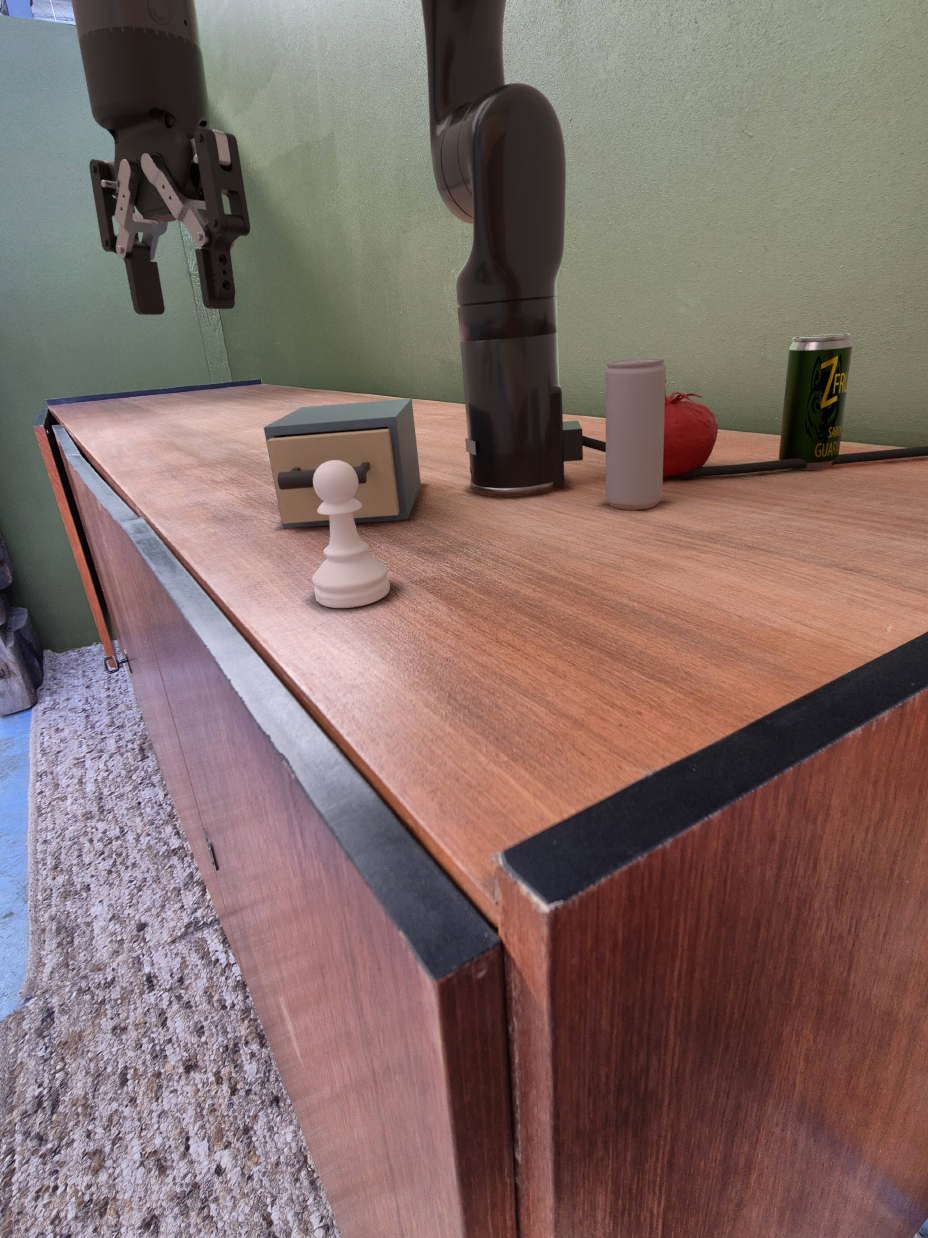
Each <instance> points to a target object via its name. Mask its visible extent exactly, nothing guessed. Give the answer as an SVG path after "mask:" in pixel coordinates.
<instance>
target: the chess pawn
mask: <svg viewBox="0 0 928 1238" xmlns="http://www.w3.org/2000/svg"><path fill="white" fill-rule="evenodd" d="M313 486H314V489H315V492H316V494H317V495H318V496H319V498H321V499H322V500H323V501H324V502H323V503H322V504H321V505H320V506H319V508H318V510H317V512H318V513H319V514H322V515H329V521H330V525H329V542H328V545H327V546H326V547H325V548H324V549H323V555H324V556H325V557H326V559H324V561H323V563H322V564H321V565H320V566H319V568H318V569H317V570H316V571H315V573H314V574H313V575H312V578H311V580H312V584H313V586H314V588H313V591H314V596H315V600H316V602H317V603H318V604H319V605H320V606H321V605H322V606H324V607H326V608H327V607H328V608H333V609H351V608H359V607H363V606H367V605H370V604H372V603H376V602H378V601H380V600H381V599H383V598H385V597H386V596H387V595H388V594H389V592H390V589H391V584H390V579H389V576H388V572H389V570H388V567H387V565H386V564H384V563H383V562H381V560H379V559H378V558H376V557H374V556H372V555H371V554H370V553H368V551H369V548H370V546H369V544H368V543H367V542H366V541H363V540H362V539H361V537H360V535H359V532H358V529H357V526H356V523H355V522H354V517H353V512H354V511H357V510H359V509H361V508H362V504H361V503H360V502H359V501H358V500H356V499H354V498H353V496H354V495H355V494H356V492H357V489H358V477H357V474H356V472H355V470H354V469H353V468H352V467H351V466H350V465H349V464H348V463H346V462H343V461H339V460H332V461H327V462H325V463H323V464H321V465H320V466H319V467H318V468H317V470H316V471H315V473H314V477H313Z"/></svg>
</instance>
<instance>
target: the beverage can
mask: <svg viewBox="0 0 928 1238" xmlns="http://www.w3.org/2000/svg"><path fill="white" fill-rule="evenodd" d="M664 363H665V358H664V357H636V358H624V359H615V360H610V361H608V362H607V363H606V365H607V368H606V370H605V375H604V376H605V442H606V453H605V499H606V502H607V503H608V504H609V505H610V506H611V507H613V508H615V509H620V510H629V511H637V510H647V509H650V508H654V507H655V506H657V505H658V504H659V503H660V501H661V500H662V498H663V483H664V482H663V481H664V480H663V447H664V412H665V389H666V383H665V379H666V376H667V373H666V372H667V369H666V366H665V364H664Z"/></svg>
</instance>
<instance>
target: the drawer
mask: <svg viewBox="0 0 928 1238" xmlns="http://www.w3.org/2000/svg"><path fill="white" fill-rule="evenodd" d="M267 445H268V448H267V451H268V450H269V453H268V456H269V455H270V459H269V462H270V461H271V464H270V467H271V466H272V469H271V472H272V471H273V474H272V478H273V477H274V480H273V483H274V482H275V485H274V488H275V487H276V490H275V493H276V492H277V496H276V499H277V498H278V501H277V504H278V503H279V506H278V509H279V508H280V511H279V514H280V513H281V517H280V520H281V519H282V522H281V524H282V523H283V524H284V523H298V522H312V521H326V520H329V515H322V514H319V513H318V512H317V510H318V508H319V506H320V505H321V504H322V503H323V502H324V501H323V500H322V499H321V498H319V496H318V495H317V494H316V492H315V489H314V486H313V477H314V473H315V471H316V470H317V468H318V467H319V466H320V465H321V464H323V463H325V462H327V461H332V460H339V461H343V462H346V463H348V464H349V465H350V466H351V467H352V468H353V469H354V470H355V472H356V474H357V477H358V489H357V492H356V494H355V495H354V496H353V498H354V499H356V500H358V501H359V502H360V503H361V504H362V508H361V509H359V510H357V511H354V512H353V517H354V518H367V517H381V516H395V515H398V514H399V504H398V495H397V487H396V479H395V471H394V462H393V454H392V446H391V438H390V430H389V429H388V427H378V428H366V429H353V430H341V431H328V432H316V433H303V434H291V435H287V436H285V437H281V438H271V439H269V440H267V443H266V446H267Z"/></svg>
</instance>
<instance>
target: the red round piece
mask: <svg viewBox="0 0 928 1238" xmlns="http://www.w3.org/2000/svg"><path fill="white" fill-rule="evenodd" d="M666 383H667V379H666V378H665V384H666ZM666 392H667V390H666V388H665V412H664V447H663V478H667V477H673V476H677V475H680V474H684V473H687V472H689V471H691V470H693V469H696V468H699V467H705V464H706V463H707V462H708V460H709V458H710V456H711V454H712V452H713V450H714V447H715V444H716V442H717V437H718V433H719V424H718V422H717V420H716V415H715V414H714V412H713V411H712V410H711V409H710V408H709V407H708V406H707V405H704V404H702V403H701V402H697V401H695V400H692V399H691V398H690V397H697V398H700V399H702V398H703V396H700V395H698V394H696V393H693V392H692V393H691V392H690V393H689V392H688V393H683V392H680V391H674V392H672V393H670V394H669V395H668V396H667V393H666ZM684 399H685V400H684Z"/></svg>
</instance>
